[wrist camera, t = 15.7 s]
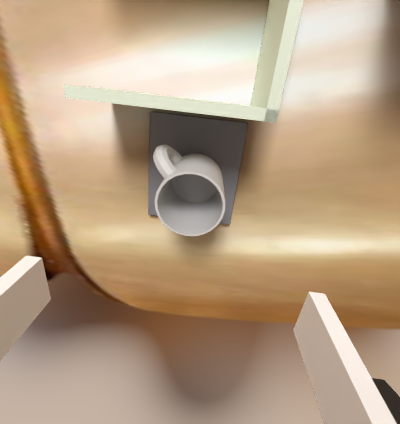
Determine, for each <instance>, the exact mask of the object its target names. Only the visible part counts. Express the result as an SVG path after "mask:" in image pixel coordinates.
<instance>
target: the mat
mask: <svg viewBox="0 0 400 424" xmlns="http://www.w3.org/2000/svg"><path fill="white" fill-rule="evenodd" d="M247 126H248V123H243V122H235V121H226V120H218V119H209V118H201V117H193V116H184V115H176V114H167V113H159V112H150V137H149V208H148V215H156V216H158V215H157V212H156V210H155V196H156V192H157V190H158V188H159V186H160V185H161V183H162V182H163V180H164V177H163V176H162V175H161V174H160V172H159V171H158V169H157V167H156V165H155V162H154V159H153V154H154V152H155V149H156V148H157V147H158V146H160V145H165V144H167V145H169V146H171V147H172V148H173V149H175V150H176V151H177V152H178V153H179V154H180V155H181V157H183V156H185V155H188V154H192V153H199V154H203V155H206V156H208V157H210V158H211V159H213V160H214V161H215V162H216V163H217V164H218V166H219V168H220V170H221V173H222V177H223V184H224V194H225V212H224V215H223V218H222V220H221V221H220V223H222V224H230V220H231V214H232V209H233V203H234V198H235V192H236V187H237V181H238V176H239V170H240V165H241V159H242V154H243V148H244V143H245V137H246V132H247Z"/></svg>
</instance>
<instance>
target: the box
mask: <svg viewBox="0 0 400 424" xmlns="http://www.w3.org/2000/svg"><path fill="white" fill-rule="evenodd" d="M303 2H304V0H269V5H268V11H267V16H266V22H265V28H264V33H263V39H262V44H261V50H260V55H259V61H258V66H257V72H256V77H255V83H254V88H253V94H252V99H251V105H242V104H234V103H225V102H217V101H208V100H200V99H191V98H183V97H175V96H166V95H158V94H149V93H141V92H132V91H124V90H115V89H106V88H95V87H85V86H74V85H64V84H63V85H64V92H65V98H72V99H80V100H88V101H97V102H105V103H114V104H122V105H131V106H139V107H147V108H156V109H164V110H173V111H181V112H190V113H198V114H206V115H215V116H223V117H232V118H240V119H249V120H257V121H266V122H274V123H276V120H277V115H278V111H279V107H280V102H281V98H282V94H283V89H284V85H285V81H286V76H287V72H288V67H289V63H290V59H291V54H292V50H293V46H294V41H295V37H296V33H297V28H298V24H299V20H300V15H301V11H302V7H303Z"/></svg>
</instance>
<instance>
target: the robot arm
mask: <svg viewBox="0 0 400 424" xmlns="http://www.w3.org/2000/svg"><path fill="white" fill-rule="evenodd" d="M50 300H51V297H50V293H49V288H48V284H47V279H46V275H45V270H44V266H43V261H42V258H39V257H31V256H26V257H24V258H23V259H22V260H21V261H20V262H18V263H17V264H16V265H15V266H14V267H12V268H11V269H10V270H9V271H8V272H6V273H5V274H4V275H3V276H2V277H0V361H1V360H2V358H3V357H4V356H5V355H6V353H7V352H8V351H9V350H10V349H11V347H12V346H13V345H14V343H15V342H16V341H17V340H18V339H19V337H20V336H21V335H22V334H23V333H24V332H25V330H26V329H27V328H28V326H29V325H30V324H31V323H32V322H33V321H34V319H35V318H36V317H37V316H38V314H39V313H40V312H41V311H42V309H43V308H44V307H45V306H46V304H47V303H48V302H49V301H50ZM293 331H294V335H295V337H296V340H297V344H298V346H299V350H300V353H301V356H302V359H303V362H304V364H305V367H306V370H307V373H308V377H309V380H310V383H311V386H312V389H313V392H314V395H315V398H316V401H317V404H318V407H319V410H320V413H321V415H322V419H323V422H324V424H400V397H399V396H398V394H397V393H396V392H395V391H394V390H393V389H392V388H391V387H390V386H389V385H388V384H387V383H386V382H385V380H382V379H374V378H371V376H370V375H369V373H368V371H367V369H366V367H365V366H364V364H363V362H362V360H361V358H360V357H359V355H358V353H357V351H356V349H355V348H354V346H353V344H352V342H351V340H350V339H349V337H348V335H347V333H346V331H345V330H344V328H343V326H342V324H341V322H340V321H339V319H338V317H337V315H336V313H335V312H334V310H333V308H332V306H331V304H330V303H329V301H328V299H327V297H326V295H325V294H323V293H315V292H309V293H308V295H307V298H306V300H305V303H304V305H303V307H302V310H301V312H300V315H299V317H298V320H297V322H296V325H295V327H294V330H293Z"/></svg>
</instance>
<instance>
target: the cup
mask: <svg viewBox="0 0 400 424" xmlns="http://www.w3.org/2000/svg"><path fill="white" fill-rule="evenodd" d="M153 159H154V162H155V165H156V167H157V169H158V171H159V172H160V174H161V175H162V176H163V177H164V180H163V182H162V183H161V185H160V186H159V188H158V190H157V192H156V196H155V210H156V212H157V215H158V217H159V219H160V220H161V222H162V223H163V224H164V225H165V226H166V227H167V228H168V229H170V230H171V231H173V232H175V233H177V234H180V235H184V236H198V235H203V234H205V233H208V232H210V231H211V230H213V229H214V228H215V227H216V226H217V225H218V224H219V223H220V221H221V220H222V218H223V215H224V212H225V194H224V184H223V177H222V173H221V170H220V168H219V166H218V164H217V163H216V162H215V161H214V160H213V159H211V158H210V157H208V156H206V155H203V154H199V153H192V154H188V155H185V156H183V157H181V155H180V154H179V153H178V152H177V151H176V150H175V149H173V148H172V147H171V146H169V145H167V144H165V145H160V146H158V147H157V148H156V149H155V152H154V154H153Z"/></svg>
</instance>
